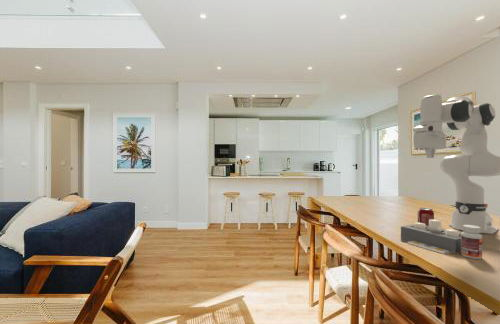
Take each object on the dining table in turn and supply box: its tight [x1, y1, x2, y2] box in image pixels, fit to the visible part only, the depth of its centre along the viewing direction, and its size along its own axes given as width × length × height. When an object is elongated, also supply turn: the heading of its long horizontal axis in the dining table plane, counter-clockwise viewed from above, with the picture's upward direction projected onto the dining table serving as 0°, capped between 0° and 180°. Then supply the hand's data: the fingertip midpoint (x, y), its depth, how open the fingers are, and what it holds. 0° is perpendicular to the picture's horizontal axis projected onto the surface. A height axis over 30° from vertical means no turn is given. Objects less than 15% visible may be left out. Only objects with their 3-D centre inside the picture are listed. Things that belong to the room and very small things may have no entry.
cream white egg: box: [429, 219, 442, 233], centre depth 114 cm, size 4×4×6 cm
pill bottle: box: [460, 225, 483, 260], centre depth 99 cm, size 6×6×11 cm
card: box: [407, 241, 450, 255], centre depth 108 cm, size 4×14×1 cm, turn 26°
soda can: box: [417, 207, 435, 226], centre depth 131 cm, size 7×7×12 cm
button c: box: [444, 228, 460, 237], centre depth 108 cm, size 4×4×6 cm
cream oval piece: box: [413, 221, 425, 229], centre depth 120 cm, size 4×4×6 cm
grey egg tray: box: [400, 223, 462, 255], centre depth 114 cm, size 13×22×6 cm, turn 26°
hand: (430, 158), depth 125 cm, fingers closed
